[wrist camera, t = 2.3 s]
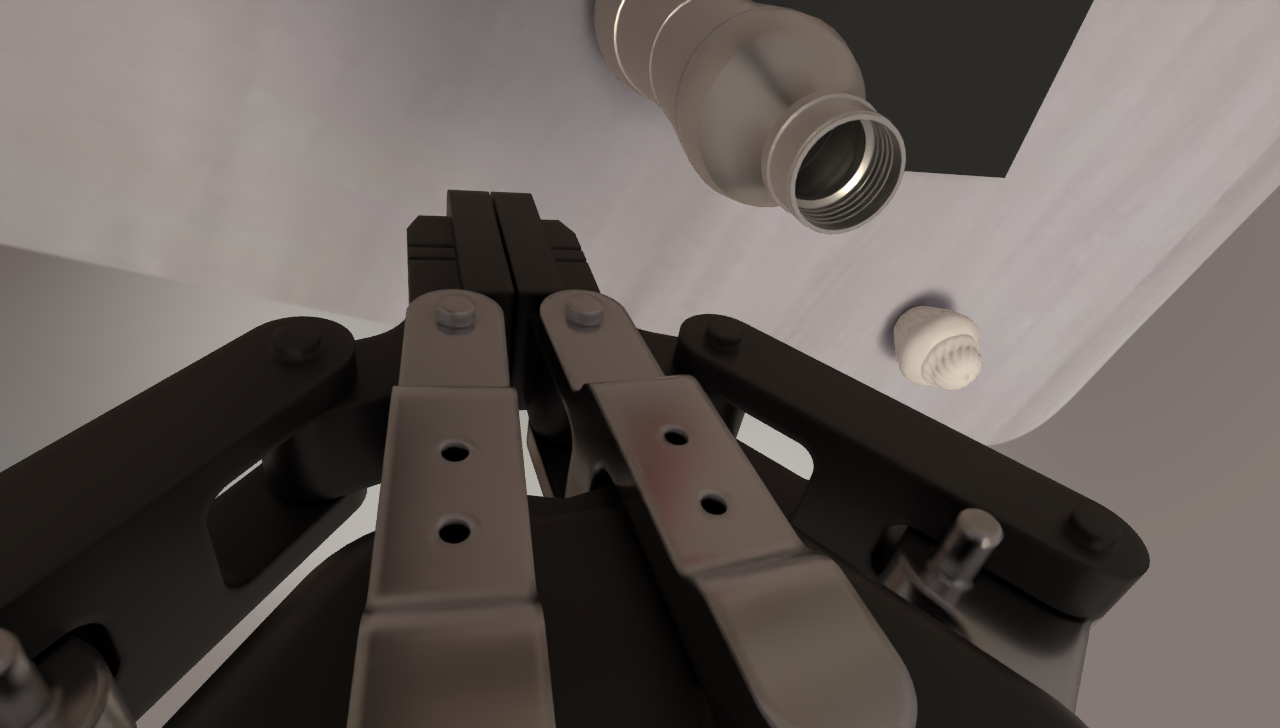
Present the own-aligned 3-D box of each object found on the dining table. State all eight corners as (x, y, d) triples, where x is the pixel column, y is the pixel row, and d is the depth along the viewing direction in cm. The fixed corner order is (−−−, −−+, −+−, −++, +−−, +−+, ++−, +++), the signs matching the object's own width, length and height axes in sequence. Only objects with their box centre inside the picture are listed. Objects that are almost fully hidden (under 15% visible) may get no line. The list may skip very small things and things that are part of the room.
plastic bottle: (649, -101, 32) (884, -7, 17) (736, 10, 36) (988, 165, 21) (555, 14, 34) (691, 190, 19) (649, 107, 38) (821, 312, 23)
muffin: (882, 298, 51) (938, 355, 46) (956, 281, 52) (1019, 335, 47) (870, 362, 55) (920, 422, 50) (939, 345, 56) (995, 401, 51)
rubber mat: (768, -142, 32) (772, -141, 32) (1119, -64, 39) (1125, -62, 39) (701, 154, 40) (703, 157, 40) (1001, 175, 47) (1005, 178, 47)
